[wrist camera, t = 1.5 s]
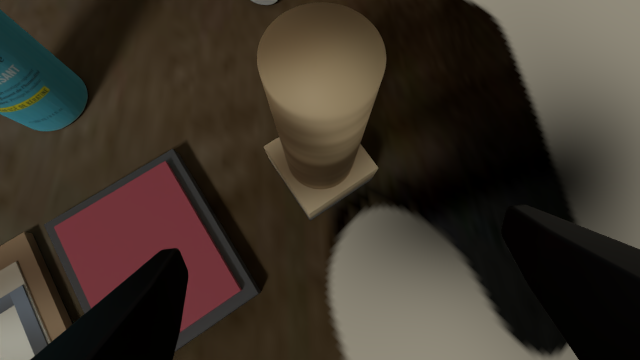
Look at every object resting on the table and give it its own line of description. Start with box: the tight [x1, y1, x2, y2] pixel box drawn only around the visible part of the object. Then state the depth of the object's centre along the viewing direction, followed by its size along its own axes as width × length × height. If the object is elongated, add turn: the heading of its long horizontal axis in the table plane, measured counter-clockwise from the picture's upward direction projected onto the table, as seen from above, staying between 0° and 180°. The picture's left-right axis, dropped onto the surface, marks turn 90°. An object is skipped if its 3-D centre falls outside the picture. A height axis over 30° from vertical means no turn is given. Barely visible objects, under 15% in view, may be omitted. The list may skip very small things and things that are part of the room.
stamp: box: [257, 2, 386, 220], centre depth 16 cm, size 5×5×12 cm
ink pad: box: [44, 149, 261, 351], centre depth 20 cm, size 11×9×1 cm
